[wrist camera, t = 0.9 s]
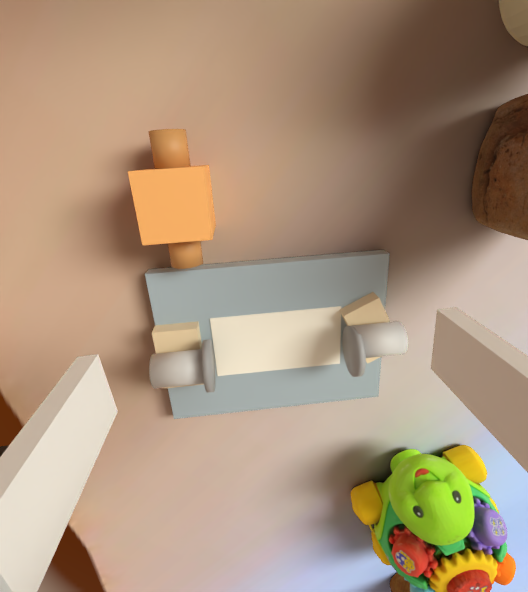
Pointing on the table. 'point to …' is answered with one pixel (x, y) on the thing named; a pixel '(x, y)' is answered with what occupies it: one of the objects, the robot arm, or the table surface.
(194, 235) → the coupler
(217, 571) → the table surface
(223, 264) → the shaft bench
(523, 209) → the block
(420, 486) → the turtle toy
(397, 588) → the disposable coffee cup
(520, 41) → the reusable coffee cup
